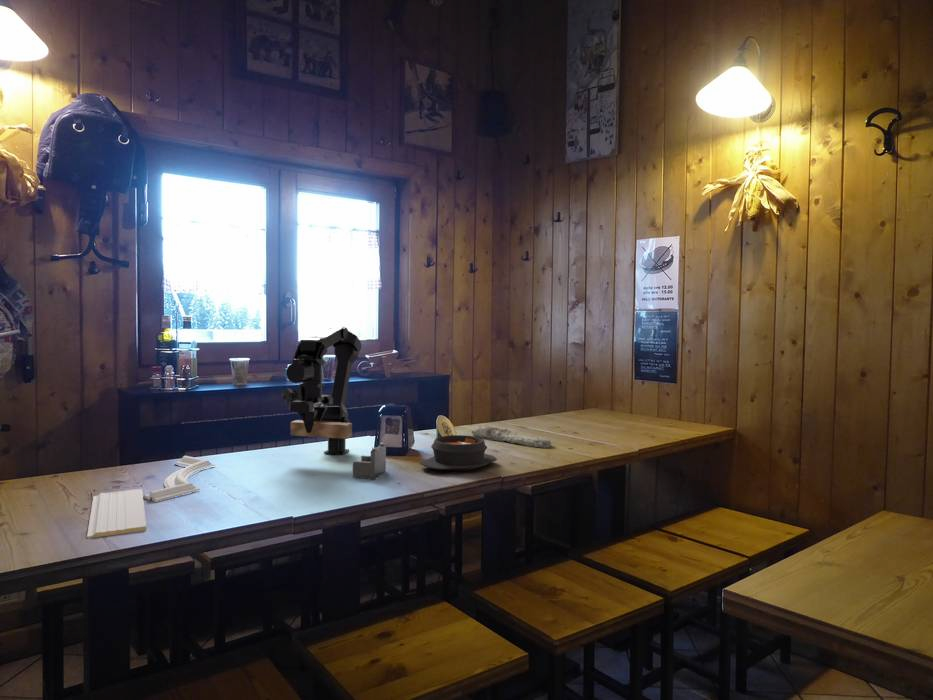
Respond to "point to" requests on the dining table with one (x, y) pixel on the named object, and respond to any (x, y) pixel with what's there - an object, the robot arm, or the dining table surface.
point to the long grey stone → (510, 436)
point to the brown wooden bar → (322, 429)
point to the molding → (179, 479)
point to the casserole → (458, 453)
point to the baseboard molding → (117, 513)
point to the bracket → (371, 464)
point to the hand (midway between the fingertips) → (311, 431)
